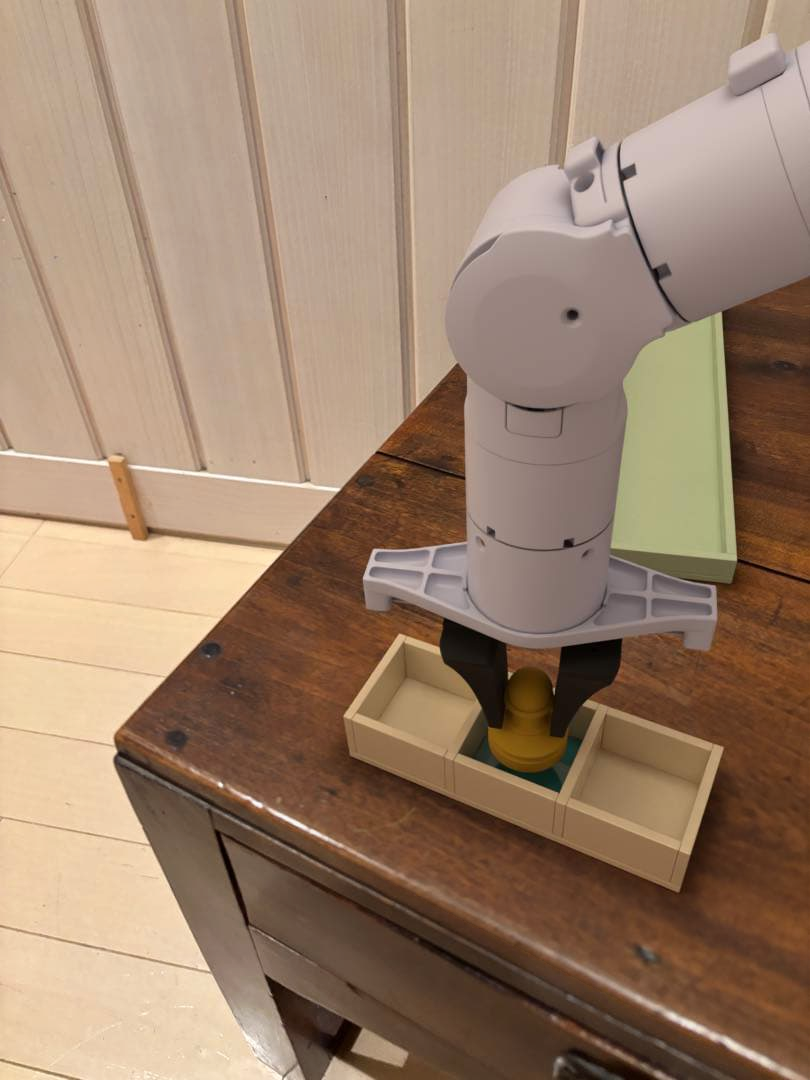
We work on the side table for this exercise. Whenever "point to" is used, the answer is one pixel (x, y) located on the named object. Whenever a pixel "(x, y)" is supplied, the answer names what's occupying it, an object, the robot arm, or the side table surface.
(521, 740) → the chess piece
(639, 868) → the three-compartment organizer
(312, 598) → the side table surface
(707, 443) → the tray
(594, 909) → the side table surface
